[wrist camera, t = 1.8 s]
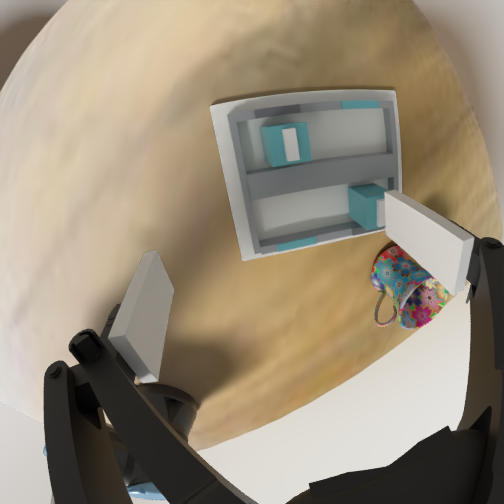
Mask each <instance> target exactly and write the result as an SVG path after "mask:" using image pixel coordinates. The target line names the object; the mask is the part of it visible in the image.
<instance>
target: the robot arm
mask: <svg viewBox="0 0 504 504" xmlns="http://www.w3.org/2000/svg"><path fill="white" fill-rule="evenodd" d="M384 194H385V221H386V235H387V236H388V237H389V238H390V239H392V240H393V241H394V242H395V243H396V244H398V245H399V246H400V247H401V248H402V249H403V250H404V251H406V252H407V253H408V254H409V255H410V256H411V257H412V258H413V259H415V260H416V261H417V262H418V263H419V264H420V265H421V266H422V267H423V268H424V269H426V270H427V271H428V272H429V273H430V274H431V275H432V276H433V277H434V278H435V279H436V280H437V281H438V282H439V283H440V284H441V285H442V286H443V287H444V288H445V289H447V290H448V291H449V292H450V293H451V294H452V295H455V294H457V293H459V292H461V291H463V290H464V287H465V283H466V279H467V280H468V281H469V282H470V283H471V285H470V289H469V293H468V297H467V300H466V303H468V301H469V300H470V314H471V342H470V362H469V375H468V385H467V392H466V400H465V407H464V412H463V416H462V419H461V421H460V423H459V425H458V427H457V430H456V431H451V430H450V428H449V426H446V427H445V428H443V429H441V430H440V431H438V432H436V433H434V434H433V435H431V436H429V437H427V438H425V439H424V440H422V441H420V442H418V443H417V444H416V445H415V446H413V447H412V448H411V449H410V450H409V451H408V452H406V453H405V454H404V455H402V456H401V457H400V458H398V459H397V460H396V461H394V462H393V463H392V464H390V465H388V466H386V467H381V468H375V469H369V470H362V471H354V472H347V473H344V474H340V475H338V476H334V477H330V478H327V479H324V480H320V481H316V482H312V483H309V487H310V489H308V490H306V491H304V492H302V493H300V494H299V495H297V496H295V497H294V498H292V499H291V500H290V501H289V502H287V503H286V504H504V245H503V244H502V243H501V242H500V241H499V240H497V239H494V238H491V237H484V238H482V239H479V238H478V237H476V236H475V235H473V234H472V233H470V232H469V231H467V230H466V229H464V228H463V227H461V226H459V225H458V224H457V223H455V222H453V221H451V220H449V219H446V218H444V217H442V216H441V215H439V214H437V213H436V212H434V211H432V210H431V209H429V208H427V207H425V206H424V205H422V204H420V203H418V202H417V201H415V200H413V199H411V198H409V197H408V196H406V195H404V194H402V193H400V192H398V191H396V190H391V191H387V192H384ZM174 291H175V290H174V288H173V285H172V283H171V281H170V279H169V277H168V274H167V272H166V270H165V267H164V265H163V263H162V260H161V258H160V256H159V253H158V251H157V250H153V251H150V252H146V253H144V255H143V257H142V259H141V261H140V264H139V266H138V268H137V270H136V272H135V274H134V276H133V279H132V281H131V283H130V285H129V288H128V290H127V292H126V294H125V297H124V299H123V301H122V303H121V304H117V305H116V307H115V308H114V309H113V310H112V311H111V313H110V315H109V318H108V321H107V322H106V325H105V327H104V329H103V332H102V334H101V337H100V338H99V337H98V335H97V334H96V333H95V331H94V330H92V329H86V330H83V331H81V332H79V333H78V334H76V335H75V336H74V337H73V338H72V340H71V341H70V344H69V351H70V352H71V353H72V355H73V356H74V357H75V358H76V359H77V361H78V362H79V363H80V364H77V365H75V366H72V367H70V368H69V366H68V365H67V364H66V363H65V362H64V361H56V362H54V363H53V364H51V365H50V366H49V367H48V368H47V371H46V372H45V376H44V430H45V443H46V444H45V447H44V450H43V453H44V455H45V456H46V457H47V462H48V470H49V476H50V481H51V487H52V499H51V504H133V502H132V500H131V498H130V496H132V497H135V498H141V499H148V500H167V501H168V502H169V503H170V504H258V503H257V502H255V501H254V500H252V499H251V498H249V497H248V496H247V495H245V494H244V493H243V492H241V491H240V490H239V489H238V488H236V487H235V486H234V485H233V484H231V483H230V482H229V481H228V480H226V479H225V478H224V477H223V476H222V475H221V474H219V473H218V472H217V471H216V470H215V469H214V468H213V467H212V466H210V465H209V464H208V463H207V462H206V461H205V460H204V459H203V458H202V457H201V456H200V455H199V454H197V453H196V452H195V451H194V450H193V449H192V448H191V447H190V446H189V445H188V435H189V433H190V430H191V428H192V425H193V423H194V421H195V418H196V414H197V406H196V402H195V401H194V400H193V398H192V397H190V396H189V395H188V394H186V393H184V392H182V391H180V390H178V389H175V388H172V387H168V386H163V385H153V384H150V385H141V386H138V387H137V386H136V384H135V383H134V380H135V375H136V376H137V377H138V379H139V380H140V381H141V382H142V383H149V382H158V379H159V373H160V366H161V360H162V354H163V348H164V342H165V336H166V331H167V326H168V320H169V315H170V310H171V305H172V300H173V295H174ZM102 408H103V409H102ZM103 410H104V412H105V414H106V415H107V417H108V419H109V421H110V422H111V424H112V425H110V424H108V423H106V421H105V417H104V413H103Z"/></svg>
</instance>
